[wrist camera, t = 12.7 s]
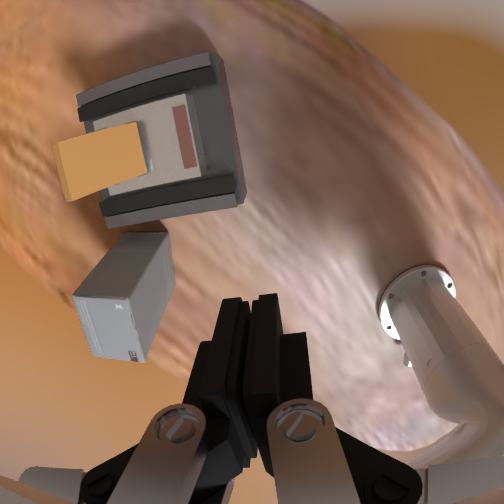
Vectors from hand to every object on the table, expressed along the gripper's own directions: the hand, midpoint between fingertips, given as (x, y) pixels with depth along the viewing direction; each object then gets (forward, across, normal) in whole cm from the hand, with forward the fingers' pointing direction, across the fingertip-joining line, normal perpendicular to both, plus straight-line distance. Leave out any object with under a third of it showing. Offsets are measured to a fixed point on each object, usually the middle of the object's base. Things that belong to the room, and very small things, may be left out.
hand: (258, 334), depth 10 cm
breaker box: (+29, +11, -6) cm, 32 cm away
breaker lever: (+21, +11, -6) cm, 25 cm away
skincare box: (+29, +17, +9) cm, 35 cm away
